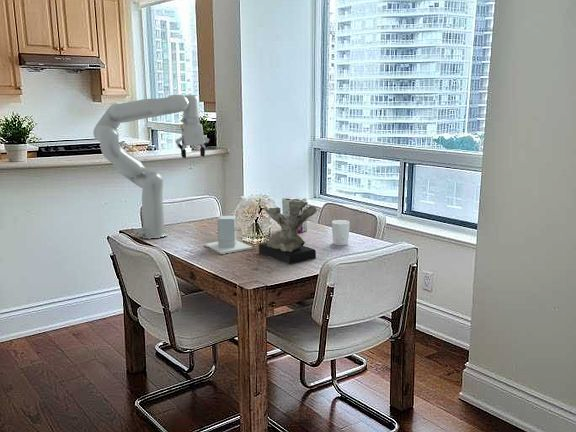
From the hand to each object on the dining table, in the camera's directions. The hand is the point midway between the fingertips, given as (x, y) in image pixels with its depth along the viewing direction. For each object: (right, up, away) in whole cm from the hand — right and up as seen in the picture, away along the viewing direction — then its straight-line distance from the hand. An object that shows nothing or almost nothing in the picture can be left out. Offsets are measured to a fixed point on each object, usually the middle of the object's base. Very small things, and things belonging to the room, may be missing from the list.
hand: (193, 157), depth 277 cm
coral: (+47, -45, -36) cm, 74 cm away
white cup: (+69, -41, -21) cm, 84 cm away
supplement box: (+19, -42, -26) cm, 53 cm away
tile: (+20, -43, -26) cm, 53 cm away
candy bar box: (+49, -36, +3) cm, 61 cm away
